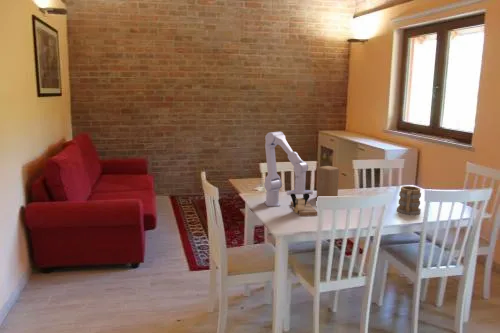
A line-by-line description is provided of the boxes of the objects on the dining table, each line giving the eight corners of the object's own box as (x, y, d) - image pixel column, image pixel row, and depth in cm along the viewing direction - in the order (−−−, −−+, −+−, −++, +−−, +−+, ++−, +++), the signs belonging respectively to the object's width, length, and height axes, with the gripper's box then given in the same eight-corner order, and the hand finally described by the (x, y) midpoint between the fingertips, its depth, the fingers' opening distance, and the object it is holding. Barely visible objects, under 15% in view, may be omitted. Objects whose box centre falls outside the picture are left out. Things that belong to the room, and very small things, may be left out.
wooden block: (315, 197, 287) (317, 166, 283) (326, 195, 293) (328, 165, 289) (327, 200, 280) (328, 169, 276) (338, 198, 285) (340, 167, 281)
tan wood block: (293, 210, 257) (294, 197, 255) (302, 210, 257) (302, 197, 256) (295, 213, 252) (296, 200, 250) (304, 213, 252) (305, 199, 251)
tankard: (399, 207, 270) (401, 182, 267) (421, 210, 264) (423, 185, 261) (393, 215, 252) (395, 190, 249) (416, 219, 246) (419, 193, 243)
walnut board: (290, 204, 270) (290, 201, 269) (306, 204, 271) (306, 201, 271) (299, 215, 249) (300, 212, 248) (317, 215, 250) (317, 211, 250)
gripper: (289, 185, 246) (288, 209, 249) (314, 184, 248) (313, 208, 251) (286, 182, 253) (285, 205, 256) (311, 181, 255) (310, 204, 258)
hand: (299, 206), depth 254 cm, fingers closed on tan wood block, 5 cm apart
